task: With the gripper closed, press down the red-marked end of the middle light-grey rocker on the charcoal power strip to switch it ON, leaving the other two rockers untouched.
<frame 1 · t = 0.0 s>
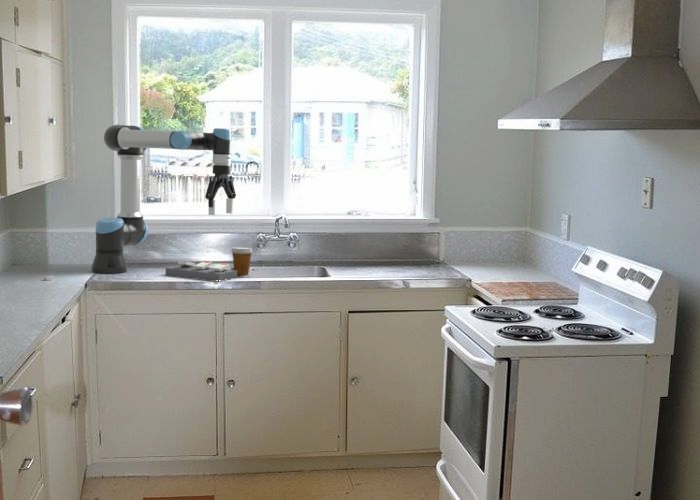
hand: (220, 214, 364), 28 cm above the countertop, tool pointing down, fingers open, 13 cm apart
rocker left: (186, 263, 376), point 5 cm above the countertop, hinge at -12.0°
rocker middle: (203, 265, 372), point 5 cm above the countertop, hinge at 12.0°
disposable coffee cup: (241, 274, 382), on the countertop
power strip: (201, 276, 371), on the countertop
rocker right: (220, 266, 368), point 5 cm above the countertop, hinge at 12.0°
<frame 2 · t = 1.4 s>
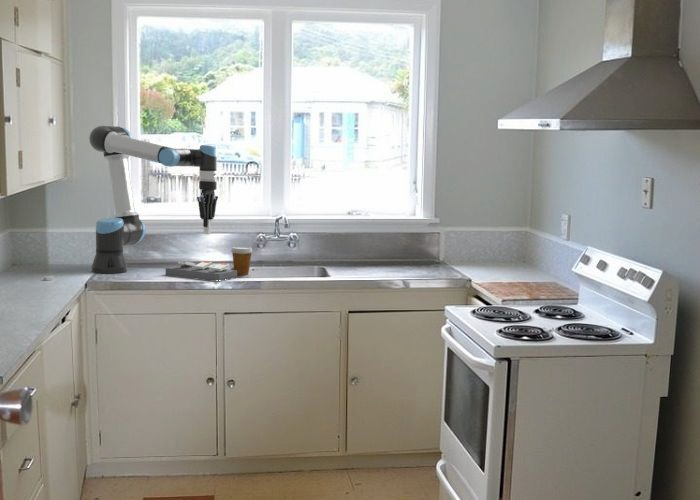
hand: (207, 234, 372), 18 cm above the countertop, tool pointing down, fingers closed
nothing on the countertop moved.
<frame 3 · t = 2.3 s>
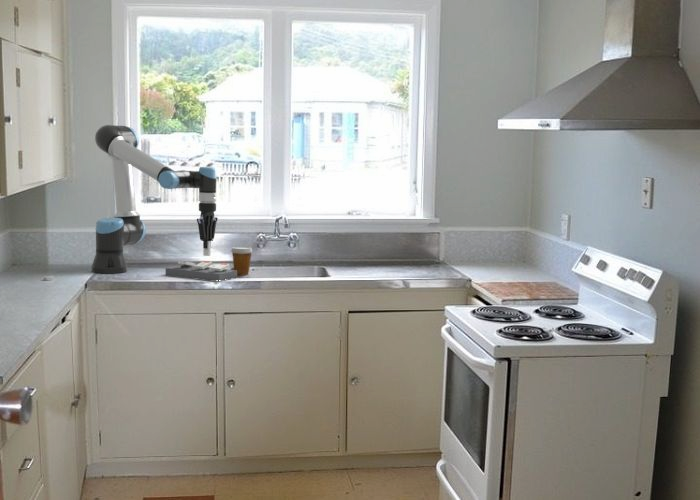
hand: (206, 255, 373), 9 cm above the countertop, tool pointing down, fingers closed
nothing on the countertop moved.
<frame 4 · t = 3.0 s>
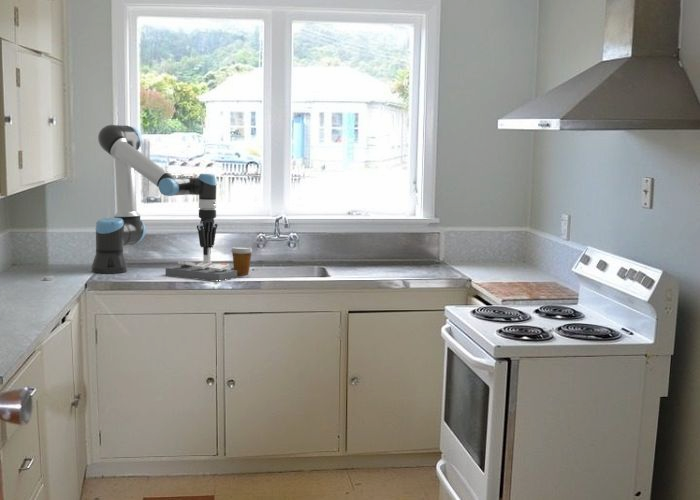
hand: (206, 262, 374), 6 cm above the countertop, tool pointing down, fingers closed
rocker middle: (203, 265, 372), point 5 cm above the countertop, hinge at 11.9°, touching gripper
everything else where it was.
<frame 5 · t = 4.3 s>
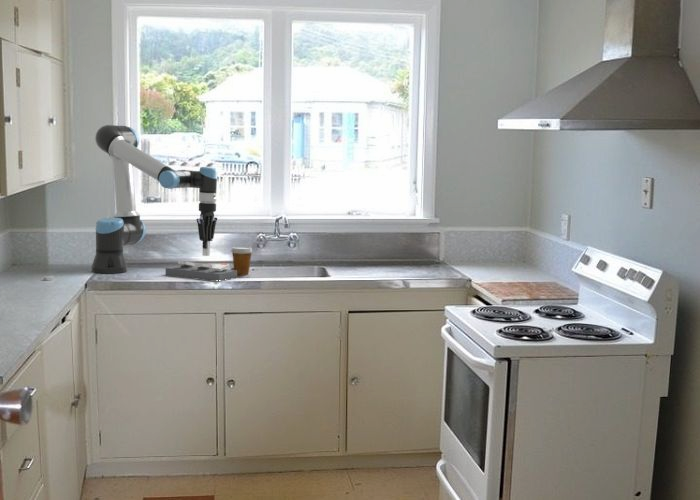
hand: (205, 255, 374), 9 cm above the countertop, tool pointing down, fingers closed
rocker middle: (203, 265, 372), point 5 cm above the countertop, hinge at -10.7°
everything else where it was.
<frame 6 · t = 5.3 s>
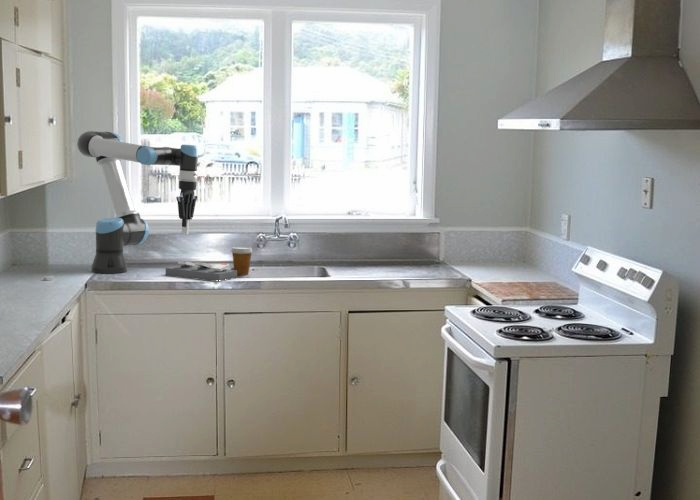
hand: (185, 234, 371), 18 cm above the countertop, tool pointing down, fingers closed
rocker middle: (203, 265, 372), point 5 cm above the countertop, hinge at -17.6°, touching power strip
everything else where it was.
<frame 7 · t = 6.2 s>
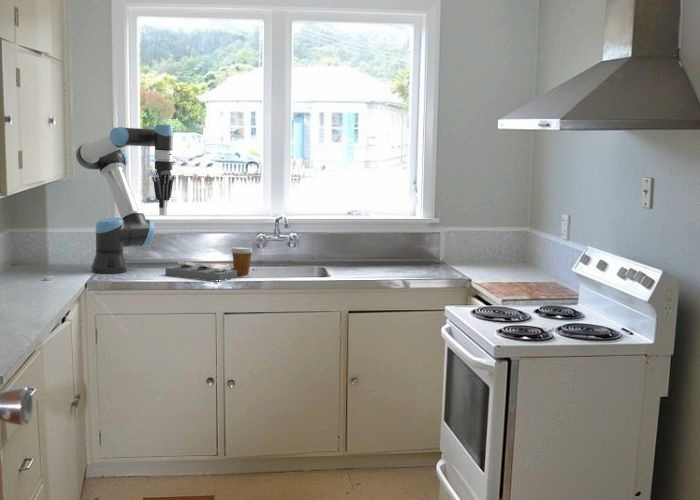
hand: (162, 215, 367), 26 cm above the countertop, tool pointing down, fingers closed
rocker middle: (203, 265, 372), point 5 cm above the countertop, hinge at -14.5°
everything else where it was.
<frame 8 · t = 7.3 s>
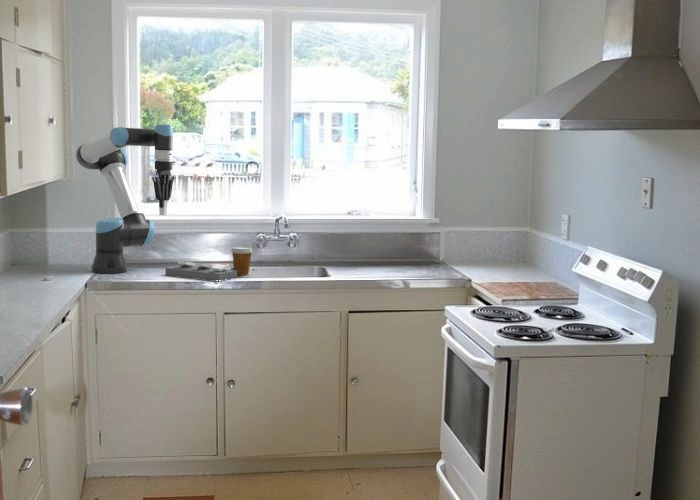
hand: (162, 215, 367), 26 cm above the countertop, tool pointing down, fingers closed
rocker middle: (203, 265, 372), point 5 cm above the countertop, hinge at -12.4°
everything else where it was.
at the end: rocker middle at -12° (first picture: +12°); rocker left at -12° (first picture: -12°); rocker right at +12° (first picture: +12°) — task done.
